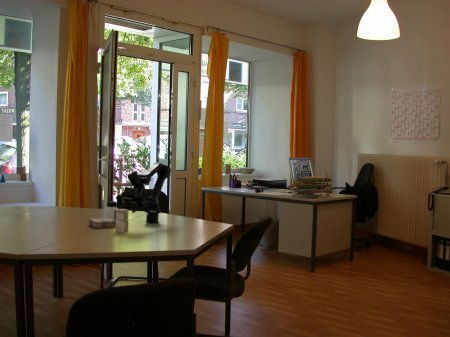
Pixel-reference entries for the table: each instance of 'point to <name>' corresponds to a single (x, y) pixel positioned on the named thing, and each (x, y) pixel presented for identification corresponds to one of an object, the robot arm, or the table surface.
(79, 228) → the table surface
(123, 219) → the birch block
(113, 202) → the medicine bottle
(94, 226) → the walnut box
